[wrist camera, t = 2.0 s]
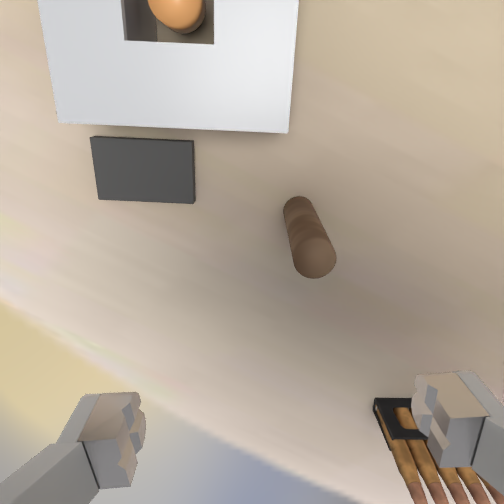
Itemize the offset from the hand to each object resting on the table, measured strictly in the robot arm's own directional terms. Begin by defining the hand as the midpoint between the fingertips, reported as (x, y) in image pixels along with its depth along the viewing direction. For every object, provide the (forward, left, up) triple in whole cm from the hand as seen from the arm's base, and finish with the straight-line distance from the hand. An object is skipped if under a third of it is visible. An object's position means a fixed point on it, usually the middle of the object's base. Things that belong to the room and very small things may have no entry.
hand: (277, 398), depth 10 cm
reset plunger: (+6, -13, -19) cm, 24 cm away
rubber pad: (+10, -2, -22) cm, 24 cm away
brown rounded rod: (-3, +1, -22) cm, 22 cm away
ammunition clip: (-19, +23, -22) cm, 37 cm away
